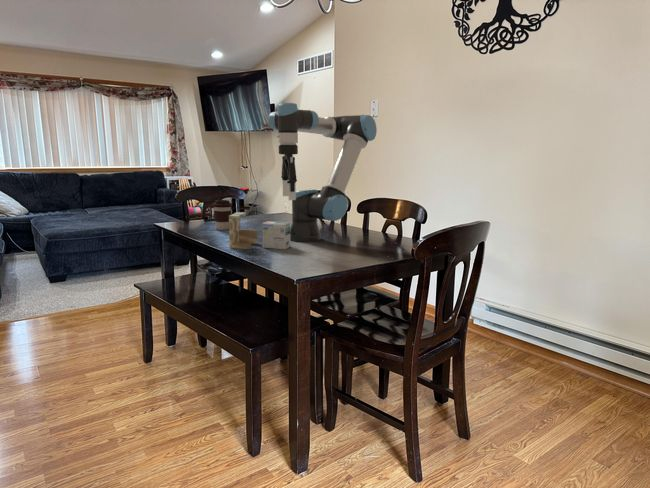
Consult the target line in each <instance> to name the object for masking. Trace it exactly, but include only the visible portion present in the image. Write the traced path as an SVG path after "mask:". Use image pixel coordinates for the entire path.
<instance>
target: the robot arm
mask: <svg viewBox="0 0 650 488" xmlns="http://www.w3.org/2000/svg"><path fill="white" fill-rule="evenodd" d="M277 106H278V107H277V111H272V112H271V113H269V115H268V118H267V123H268V125H269V128H270V129H272V130H273V131H275V130H276V131H277V132H278V135H276V138H277V139H278V144H279V145H278V154H279V155H283V156H281V158H282V161H281V162H282V163H281V177H280V178H281V180H282V197H288V201H291V209H292V210H291V216H292V219H291V221H292V223H291V224H290V241H293V242H304V243H305V242H308V243H309V242H316V241H320V240H321V232H320V231H321V230H320V228H319V225H318V219H319V220H323V221H329V222H331V221H335V222H336V221H339V220H341V219H342V218H343V217H344V216H345V214H346V213H347V210H348V200H347V195H346V189H347V186H348V183H349V182H350V179H351V176H352V174H353V172H354V168H355V166H356V164H357V161H358V158H359V157H360V154H361V151H362V149H365V148H366V147H367V145H368V143H369V142H372V141H373V140H375V139H376V136H377V130H378V129H377V124H376V120H375V119H374V117H372V115H370V114H360V115H359V114H358V115H356V114H355V115H339V116H326V117H321V116H319V115H318V113H317V112H316V111H314V110H311V109H307V110H306V109H299V108H298V105H297V103H296V102H295V103H294V102H281V103H279V104H278V105H277ZM298 132H300V133H309V134H316V135H322V136H323V137H325V138H330V139H335V140H341V141H343V142H344V143H343V145H342V147H341V149H340V152H339V155H338V157H337V159H336V162H335V164H334V167H333V169H332V171H331V174H330V177H329V178H328V181H327V184H325V185H323V186H322V187H321V189H320V192H318V191H319V190H318V189H305V190H296V188H297V187H296V185H297V184H296V183H297V181H298V180H297V172H296V170H297V169H296V161H295V160H296V158H295V156H293V155H298V154H299V152H298V151H299V150H298V149H299V146H298V142H299V141H298V140H299V138H298V136H299V134H298Z"/></svg>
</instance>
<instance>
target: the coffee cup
mask: <svg viewBox="0 0 650 488" xmlns="http://www.w3.org/2000/svg"><path fill="white" fill-rule="evenodd" d="M211 206H212V208H213V215H214V216H213V217H214V218H213V220H214V222H215V223H214V224H215V229H216V230H217V229H218V230H219V231H223V230H224V231H227V229H228V230H229V215H232V207H233V203H231V202H230V200H229V199H216V200H215V201H214V203H212V205H211Z"/></svg>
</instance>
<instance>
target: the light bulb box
mask: <svg viewBox="0 0 650 488" xmlns="http://www.w3.org/2000/svg"><path fill="white" fill-rule="evenodd" d="M261 226H262V231H261V233H262V234H261V235H262V248H264V249H276V250H277V249H279V250H288V248H290V247H291V240H290V228H291V222H290V221H289V222H286V221H285V222H284V221H271V220H270V221H268V220H267V221H265V222H262V224H261Z"/></svg>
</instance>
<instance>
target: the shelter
mask: <svg viewBox="0 0 650 488" xmlns="http://www.w3.org/2000/svg"><path fill="white" fill-rule="evenodd" d="M245 216H247V212H245V211H241V212H240V211H236V212H234V213H233V214H232V213H231V215H229V229H228V232H229V233H228V236H229V237H228V238H229V241H228V245H229V249H245V250H247V249H248V250H249V249H252V244H256V245H257V244H258V243H259V242H258V230H257V229H241V225H240V224H241V223H240V222H241V221H240V219H241V218H243V217H245Z"/></svg>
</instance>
